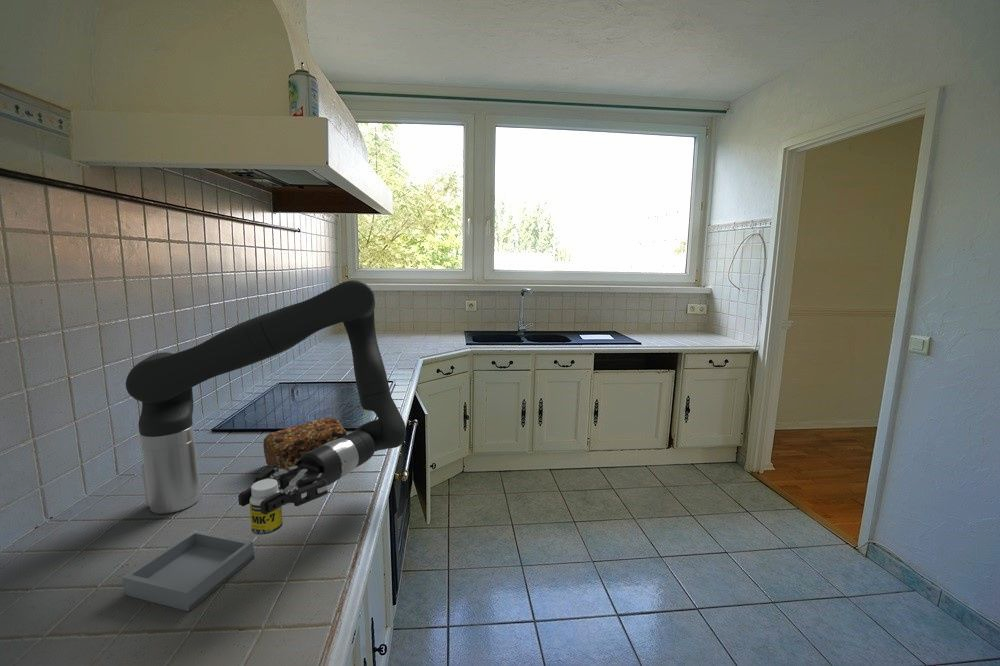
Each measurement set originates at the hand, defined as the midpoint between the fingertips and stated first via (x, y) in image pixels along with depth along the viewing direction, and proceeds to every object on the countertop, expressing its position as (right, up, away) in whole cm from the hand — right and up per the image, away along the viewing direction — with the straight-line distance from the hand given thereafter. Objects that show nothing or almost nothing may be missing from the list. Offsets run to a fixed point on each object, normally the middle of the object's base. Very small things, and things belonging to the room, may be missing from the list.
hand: (251, 504), depth 74 cm
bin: (-12, -13, +3) cm, 18 cm away
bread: (-10, -6, +46) cm, 47 cm away
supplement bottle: (+1, -6, +3) cm, 7 cm away
